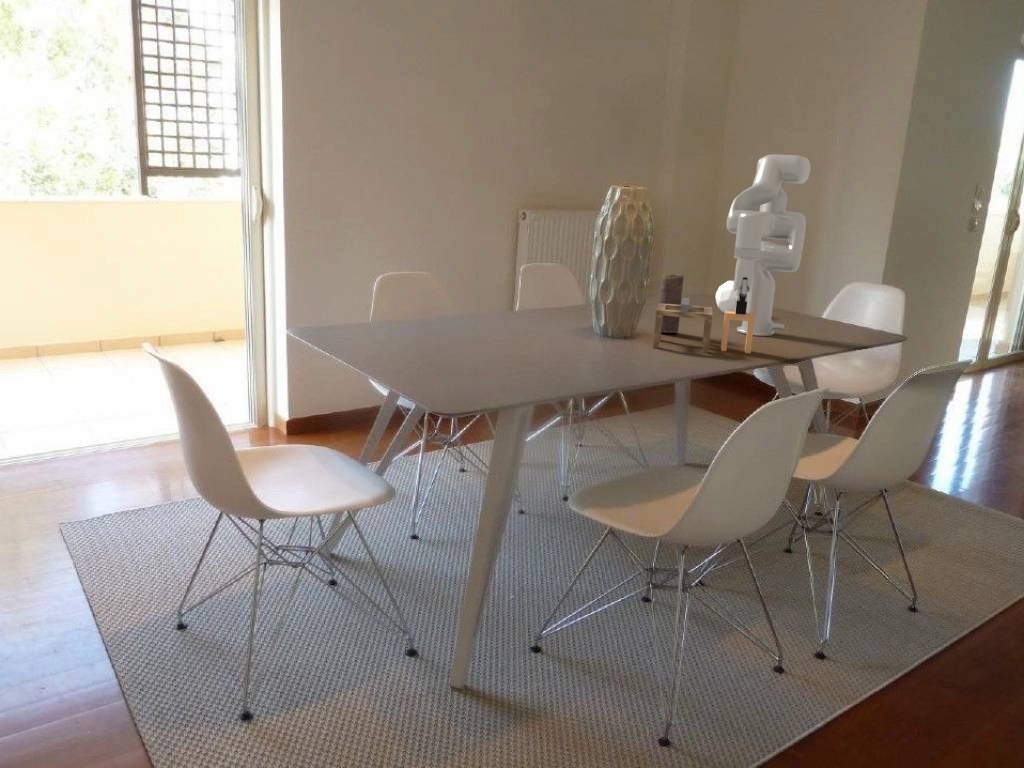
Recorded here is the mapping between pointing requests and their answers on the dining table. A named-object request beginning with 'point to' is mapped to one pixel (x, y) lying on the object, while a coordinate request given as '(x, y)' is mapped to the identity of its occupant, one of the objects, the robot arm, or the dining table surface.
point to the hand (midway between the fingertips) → (740, 312)
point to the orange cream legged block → (739, 317)
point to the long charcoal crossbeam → (685, 305)
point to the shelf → (675, 311)
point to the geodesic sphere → (726, 297)
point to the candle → (671, 300)
